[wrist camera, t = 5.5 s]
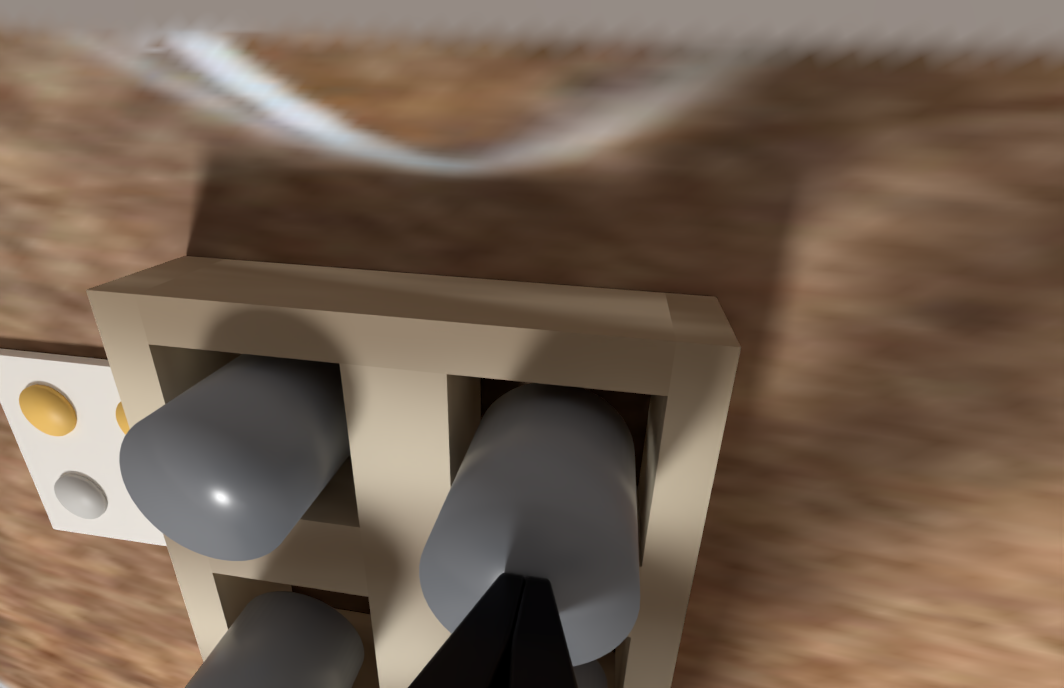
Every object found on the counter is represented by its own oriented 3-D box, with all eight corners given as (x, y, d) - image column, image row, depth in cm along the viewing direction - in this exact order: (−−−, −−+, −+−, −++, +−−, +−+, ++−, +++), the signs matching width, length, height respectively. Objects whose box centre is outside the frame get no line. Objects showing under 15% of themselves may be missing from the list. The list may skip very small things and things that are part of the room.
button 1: (625, 524, 14) (628, 683, 10) (476, 505, 14) (424, 650, 10) (643, 390, 12) (653, 518, 8) (475, 373, 12) (412, 488, 9)
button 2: (378, 460, 16) (302, 572, 12) (256, 446, 16) (145, 548, 12) (366, 338, 14) (275, 423, 10) (231, 326, 14) (96, 403, 11)
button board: (647, 682, 19) (651, 780, 16) (269, 620, 20) (215, 699, 18) (716, 296, 13) (740, 347, 10) (184, 255, 15) (85, 289, 12)
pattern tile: (239, 547, 19) (229, 559, 19) (64, 521, 20) (49, 532, 19) (196, 369, 16) (182, 377, 16) (-7, 347, 17) (-26, 354, 17)
